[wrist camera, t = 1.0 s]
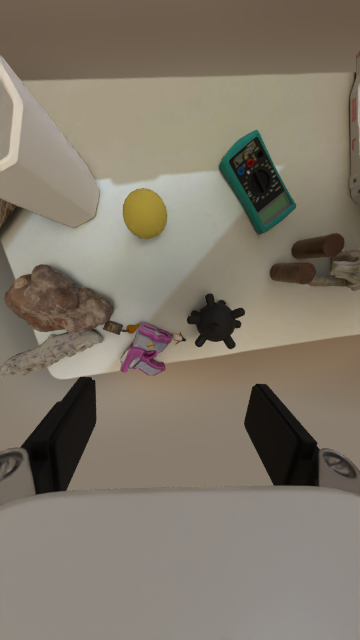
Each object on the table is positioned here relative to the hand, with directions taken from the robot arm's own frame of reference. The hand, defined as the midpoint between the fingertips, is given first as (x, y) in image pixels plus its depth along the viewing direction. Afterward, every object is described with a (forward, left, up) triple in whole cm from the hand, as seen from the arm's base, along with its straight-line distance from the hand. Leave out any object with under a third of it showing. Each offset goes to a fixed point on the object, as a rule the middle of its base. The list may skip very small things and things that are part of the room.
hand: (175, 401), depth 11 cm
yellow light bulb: (-10, -12, -30) cm, 34 cm away
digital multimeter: (-27, 0, -30) cm, 40 cm away
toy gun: (+10, +8, -28) cm, 31 cm away
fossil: (+22, -13, -30) cm, 40 cm away
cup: (-6, -26, -30) cm, 40 cm away
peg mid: (-19, +15, -30) cm, 38 cm away
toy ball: (-4, +9, -30) cm, 31 cm away
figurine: (-27, +24, -30) cm, 47 cm away
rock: (+12, -16, -31) cm, 37 cm away
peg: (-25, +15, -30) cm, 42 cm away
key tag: (+9, -5, -29) cm, 31 cm away
